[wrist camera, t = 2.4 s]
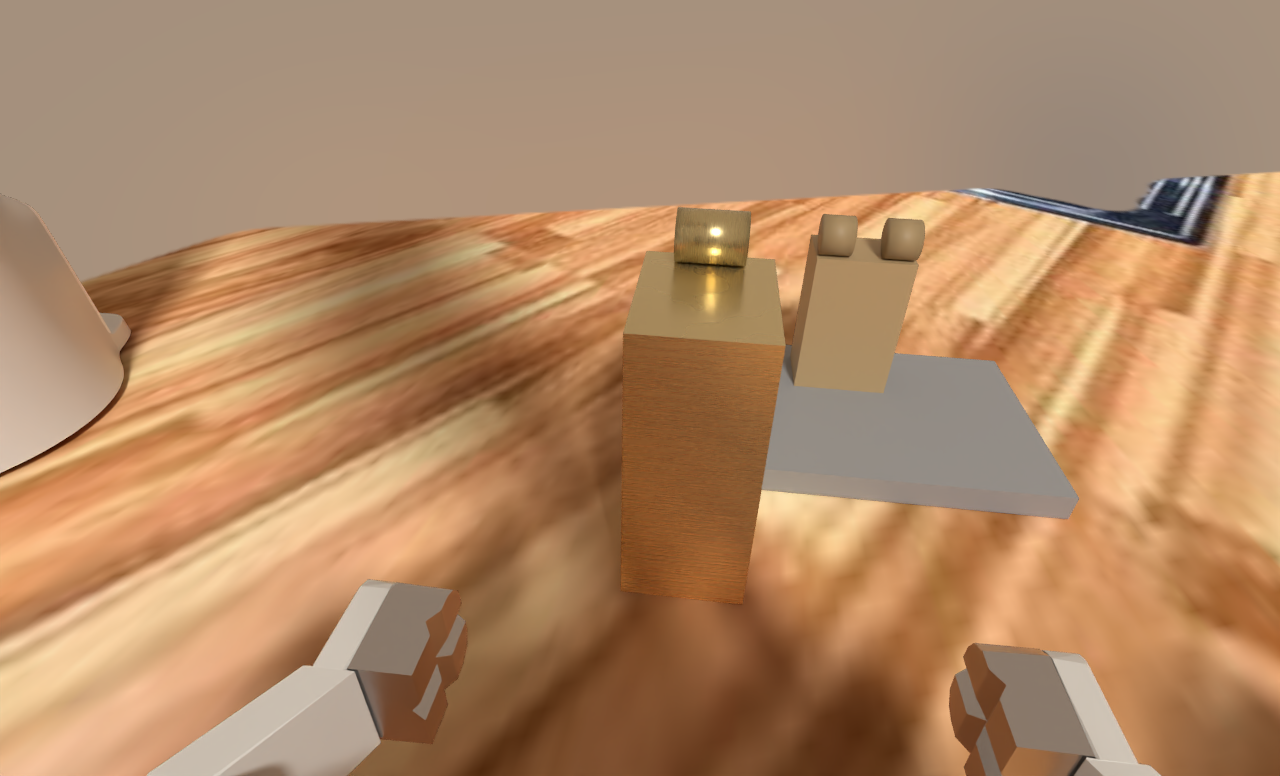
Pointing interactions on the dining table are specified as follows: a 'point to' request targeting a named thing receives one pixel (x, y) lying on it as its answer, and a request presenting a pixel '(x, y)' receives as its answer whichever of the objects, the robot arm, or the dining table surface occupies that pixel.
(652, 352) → the tan block
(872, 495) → the gray base plate
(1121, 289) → the dining table surface
